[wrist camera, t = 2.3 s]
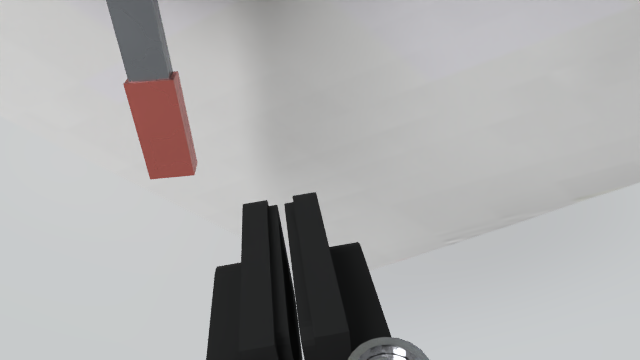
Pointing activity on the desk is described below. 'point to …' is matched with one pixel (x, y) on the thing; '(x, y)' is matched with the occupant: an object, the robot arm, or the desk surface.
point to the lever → (153, 89)
